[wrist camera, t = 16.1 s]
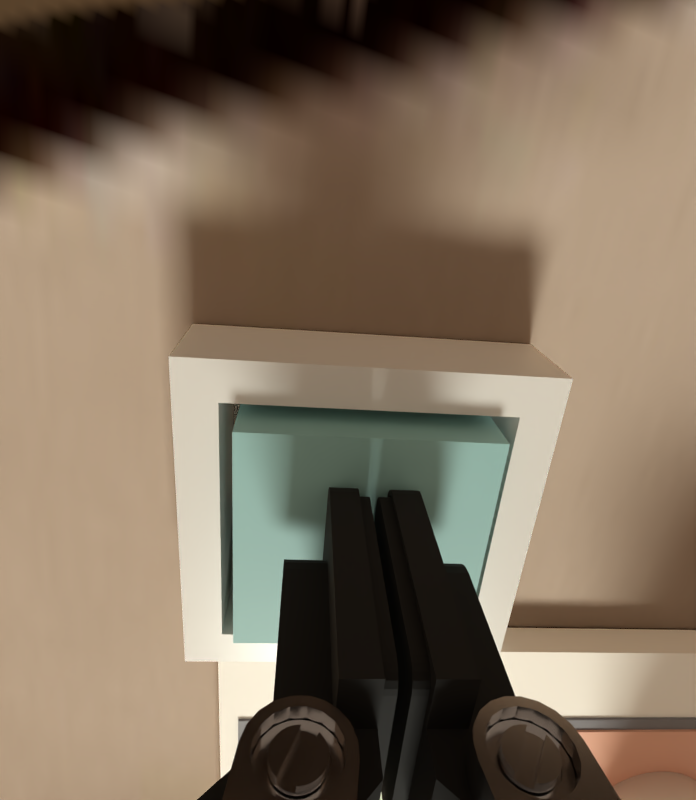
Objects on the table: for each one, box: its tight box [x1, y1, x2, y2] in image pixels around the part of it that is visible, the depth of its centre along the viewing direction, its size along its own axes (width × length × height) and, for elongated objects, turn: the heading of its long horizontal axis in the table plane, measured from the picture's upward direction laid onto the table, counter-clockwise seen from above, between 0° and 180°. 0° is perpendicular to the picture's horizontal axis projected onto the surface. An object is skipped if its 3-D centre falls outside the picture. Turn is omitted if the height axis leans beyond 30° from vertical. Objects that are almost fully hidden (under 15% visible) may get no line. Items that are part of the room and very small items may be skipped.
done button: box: [232, 404, 510, 644], centre depth 11 cm, size 5×5×2 cm
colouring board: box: [218, 628, 696, 800], centre depth 17 cm, size 18×13×1 cm
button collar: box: [169, 324, 573, 662], centre depth 12 cm, size 7×7×2 cm
